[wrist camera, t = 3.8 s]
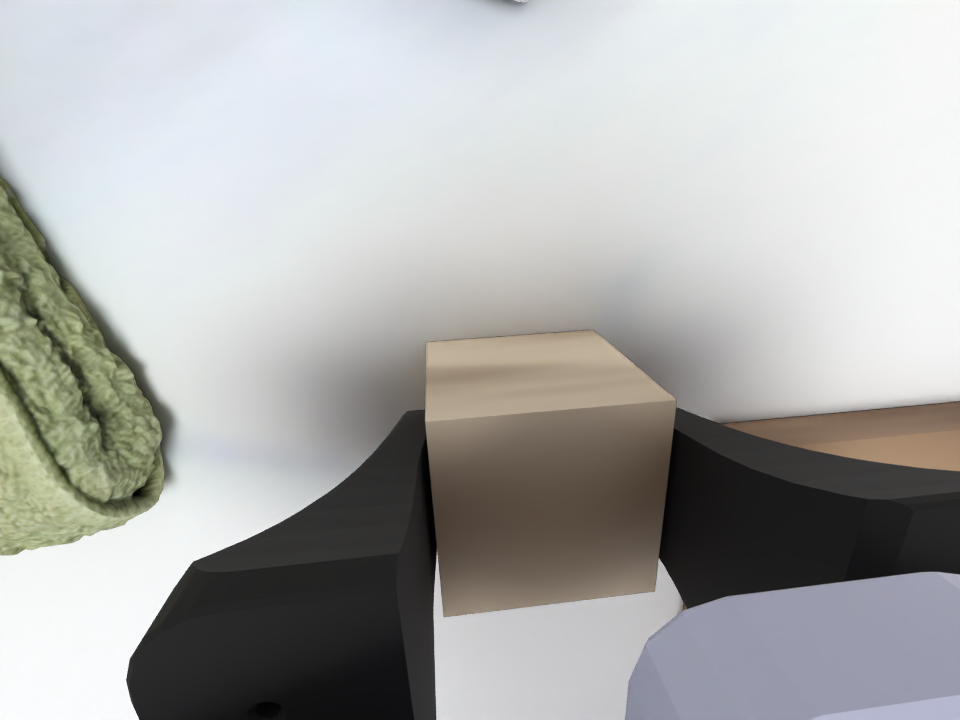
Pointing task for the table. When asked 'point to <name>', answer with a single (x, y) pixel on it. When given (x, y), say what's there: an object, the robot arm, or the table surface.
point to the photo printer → (522, 0)
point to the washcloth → (63, 407)
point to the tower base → (873, 435)
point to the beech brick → (544, 470)
